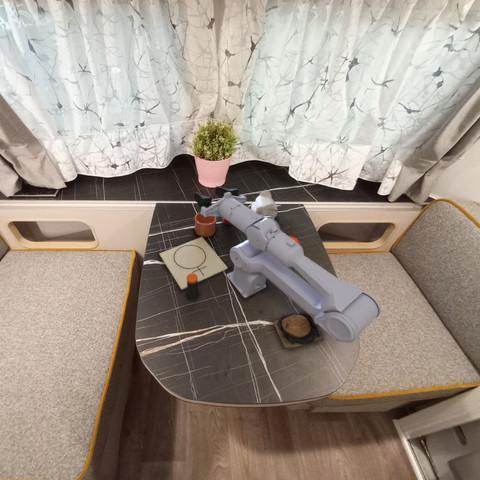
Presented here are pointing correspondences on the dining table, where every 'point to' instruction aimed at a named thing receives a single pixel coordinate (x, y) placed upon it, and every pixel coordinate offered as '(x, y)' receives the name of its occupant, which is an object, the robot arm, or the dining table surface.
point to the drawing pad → (192, 261)
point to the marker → (192, 285)
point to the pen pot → (205, 225)
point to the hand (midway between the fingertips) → (206, 192)
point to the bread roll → (297, 330)
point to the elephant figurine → (265, 205)
